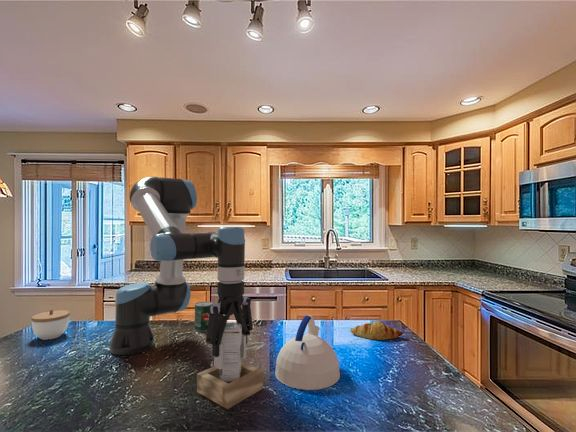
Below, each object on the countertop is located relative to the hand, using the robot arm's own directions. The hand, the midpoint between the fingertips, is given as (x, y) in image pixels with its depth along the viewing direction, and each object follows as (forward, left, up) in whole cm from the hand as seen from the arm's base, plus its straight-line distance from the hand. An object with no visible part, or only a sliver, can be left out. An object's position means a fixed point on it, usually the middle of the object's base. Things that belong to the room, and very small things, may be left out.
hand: (230, 362), depth 89 cm
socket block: (0, 0, -8) cm, 8 cm away
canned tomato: (-49, +27, -8) cm, 57 cm away
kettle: (+11, +22, -8) cm, 26 cm away
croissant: (+14, +67, -8) cm, 69 cm away
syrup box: (0, 0, -4) cm, 4 cm away
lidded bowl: (-89, -19, -8) cm, 91 cm away
